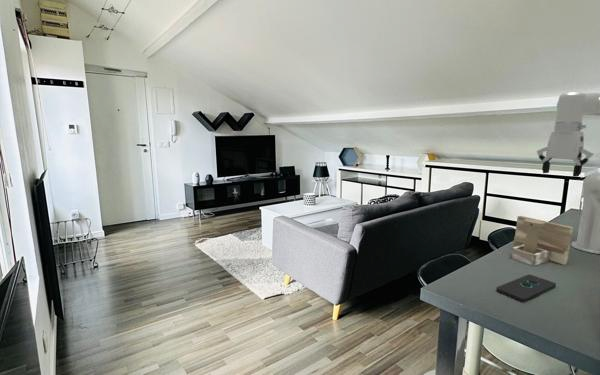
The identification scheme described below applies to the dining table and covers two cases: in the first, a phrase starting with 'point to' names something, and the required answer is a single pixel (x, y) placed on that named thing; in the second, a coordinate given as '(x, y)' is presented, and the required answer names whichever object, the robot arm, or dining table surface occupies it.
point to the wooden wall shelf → (542, 243)
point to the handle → (532, 235)
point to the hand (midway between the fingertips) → (560, 174)
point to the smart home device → (525, 288)
